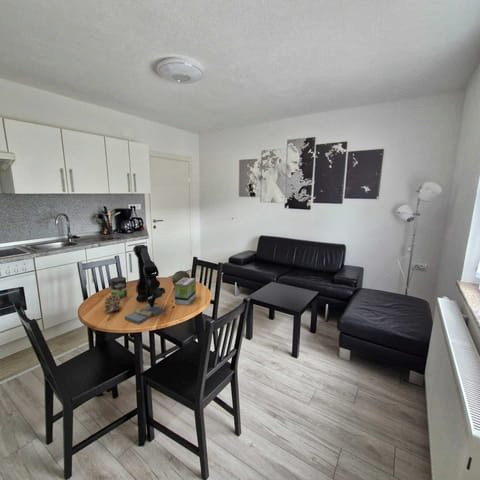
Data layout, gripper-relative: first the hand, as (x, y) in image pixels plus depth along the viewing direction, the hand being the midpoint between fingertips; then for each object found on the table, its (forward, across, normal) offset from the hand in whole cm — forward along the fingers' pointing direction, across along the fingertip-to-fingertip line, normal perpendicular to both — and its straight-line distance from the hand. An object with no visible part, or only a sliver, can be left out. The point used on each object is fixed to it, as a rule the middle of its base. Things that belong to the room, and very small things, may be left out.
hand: (151, 307), depth 162 cm
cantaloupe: (+3, +39, +10) cm, 41 cm away
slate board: (+3, -6, 0) cm, 6 cm away
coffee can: (+3, +4, +38) cm, 38 cm away
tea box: (+3, +24, -7) cm, 25 cm away
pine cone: (+3, -14, +20) cm, 25 cm away
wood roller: (+1, -7, 0) cm, 7 cm away
